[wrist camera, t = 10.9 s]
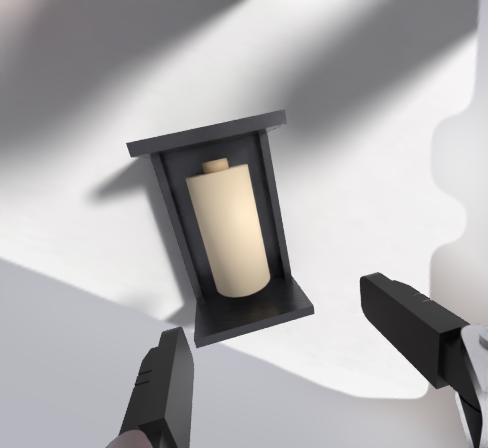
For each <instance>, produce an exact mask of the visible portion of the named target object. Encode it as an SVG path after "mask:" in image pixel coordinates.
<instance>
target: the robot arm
mask: <svg viewBox="0 0 488 448" xmlns="http://www.w3.org/2000/svg"><path fill="white" fill-rule="evenodd" d="M360 293H361V307H362V310H363V313H364V315H365V316H366V318H367V319H368V320H369V322H370V323H371V324H372V325H373V326H374V327H375V328H376V329H377V330H378V331H379V332H380V333H381V334H382V335H383V336H384V337H385V338H386V339H387V340H388V341H389V342H390V343H391V344H392V345H393V346H394V347H395V348H396V349H397V350H398V351H399V352H400V353H401V354H402V355H403V356H404V357H405V358H406V359H407V360H408V361H409V362H410V363H411V364H412V365H413V366H414V367H415V368H416V369H417V370H418V371H419V372H420V373H421V374H422V375H423V376H424V377H425V378H426V379H427V380H428V381H429V382H430V383H431V384H432V385H433V386H434V387H435V388H436V389H439V388H442V387H445V386H448V385H450V386H451V387H453V389H454V390H455V391H456V394H455V397H456V402H457V405H458V409H459V413H460V416H461V420H462V424H463V427H464V431H465V435H466V438H467V442H468V445H469V448H488V325H481V324H472V325H471V324H469V323H468V322H466V321H464V320H463V319H461V318H460V317H458V316H457V315H455V314H453V313H452V312H450V311H449V310H447V309H445V308H444V307H442V306H441V305H439V304H437V303H436V302H435V301H433V300H430V298H428V297H427V296H425V295H424V294H421V293H420V292H419V291H417V290H416V289H414V288H413V287H411V286H409V285H407V284H404V283H401V282H398V281H396V280H393V281H392V280H390V279H389V278H387V277H386V276H384V275H383V274H381V273H379V272H377V273H373V274H370V275H366V276H362V277H361V278H360ZM193 379H194V363H193V357H192V353H191V351H190V348H189V345H188V342H187V339H186V337H185V334H184V331H183V329H182V327H177V328H174V329H170V330H167V331H163V332H162V334H161V338H160V341H159V345H158V347H155V348H152V349H150V351H149V352H148V354H147V355H146V356H145V358H144V359H143V361H142V363H141V366H140V370H139V373H138V376H137V379H136V382H135V387H134V389H133V392H132V395H131V398H130V402H129V404H128V408H127V411H126V414H125V417H124V420H123V424H122V426H121V430H120V433H119V435H118V437H116V438H115V439H114V440H113V441H112V442H111V443H110V444H109V445H108V446H107V447H106V448H189V446H190V444H189V443H190V429H191V412H192V396H193Z"/></svg>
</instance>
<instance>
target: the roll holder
mask: <svg viewBox="0 0 488 448" xmlns="http://www.w3.org/2000/svg"><path fill="white" fill-rule="evenodd" d="M284 124H286V117H285V110H281V111H276V112H271V113H267V114H262V115H257V116H252V117H248V118H243V119H238V120H233V121H229V122H224V123H219V124H215V125H210V126H205V127H200V128H196V129H191V130H186V131H182V132H177V133H172V134H167V135H163V136H158V137H153V138H149V139H144V140H139V141H134V142H130V143H126V144H127V147H128V150H129V153H130V156H131V157H138V158H151V159H152V163H153V166H154V169H155V172H156V175H157V178H158V181H159V184H160V188H161V191H162V194H163V197H164V200H165V203H166V206H167V209H168V213H169V216H170V219H171V222H172V225H173V228H174V231H175V234H176V238H177V241H178V244H179V247H180V250H181V253H182V256H183V259H184V263H185V266H186V269H187V272H188V275H189V278H190V281H191V284H192V288H193V291H194V294H195V297H196V300H197V304H196V318H195V332H194V342H195V345H196V348H199V347H203V346H206V345H210V344H213V343H216V342H220V341H223V340H227V339H230V338H233V337H237V336H240V335H244V334H247V333H250V332H254V331H257V330H261V329H264V328H268V327H271V326H274V325H278V324H281V323H285V322H288V321H291V320H295V319H298V318H302V317H305V316H308V315H312V314H314V307H313V304H312V303H311V302H310V300H309V299H308V297H307V296H306V295H305V293H304V292H303V291H302V289H301V288H300V286H299V285H298V284H297V282H296V281H295V280H294V278H293V277H292V275H291V269H290V264H289V258H288V252H287V246H286V240H285V235H284V229H283V223H282V217H281V211H280V206H279V200H278V194H277V188H276V182H275V177H274V171H273V165H272V159H271V154H270V148H269V142H268V136H267V132H269V131H271V130H273V129H275V128H278V127H280V126H282V125H284ZM223 158H227V162H228V166H229V167H231V166H237V165H244V164H247V165H248V169H249V174H250V179H251V184H252V189H253V194H254V199H255V204H256V209H257V214H258V219H259V224H260V229H261V234H262V239H263V243H264V248H265V253H266V258H267V263H268V268H269V273H270V280H269V282H268V283H267V285H266V286H265V287H264V288H262V289H261V290H259V291H257V292H255V293H253V294H250V295H247V296H242V297H227V296H224V295H222V294H220V293H219V292H218V291H217V288H216V284H215V281H214V277H213V274H212V270H211V267H210V263H209V260H208V256H207V253H206V249H205V246H204V242H203V239H202V235H201V232H200V228H199V225H198V221H197V218H196V214H195V211H194V207H193V204H192V200H191V197H190V193H189V189H188V186H187V182H186V179H185V178H187V177H190V176H193V175H197V174H201V173H204V171H203V167H202V163H205V162H209V161H214V160H218V159H223Z"/></svg>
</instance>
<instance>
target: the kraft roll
mask: <svg viewBox="0 0 488 448" xmlns="http://www.w3.org/2000/svg"><path fill="white" fill-rule="evenodd" d="M202 167H203V171H204V173H201V174H197V175H193V176H190V177H187V178H185V179H186V182H187V186H188V189H189V193H190V197H191V200H192V204H193V207H194V211H195V214H196V218H197V221H198V225H199V228H200V232H201V235H202V239H203V242H204V246H205V249H206V253H207V256H208V260H209V263H210V267H211V270H212V274H213V277H214V281H215V284H216V288H217V291H218V292H219V293H220V294H222V295H224V296H227V297H242V296H247V295H250V294H253V293H255V292H257V291H259V290H261V289H262V288H264V287H265V286H266V285H267V283H268V282H269V280H270V273H269V268H268V263H267V258H266V253H265V248H264V243H263V239H262V234H261V229H260V224H259V219H258V214H257V209H256V204H255V199H254V194H253V189H252V184H251V179H250V174H249V169H248V165H247V164H244V165H237V166H231V167H229V166H228V162H227V158H223V159H218V160H214V161H209V162H205V163H202Z"/></svg>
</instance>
